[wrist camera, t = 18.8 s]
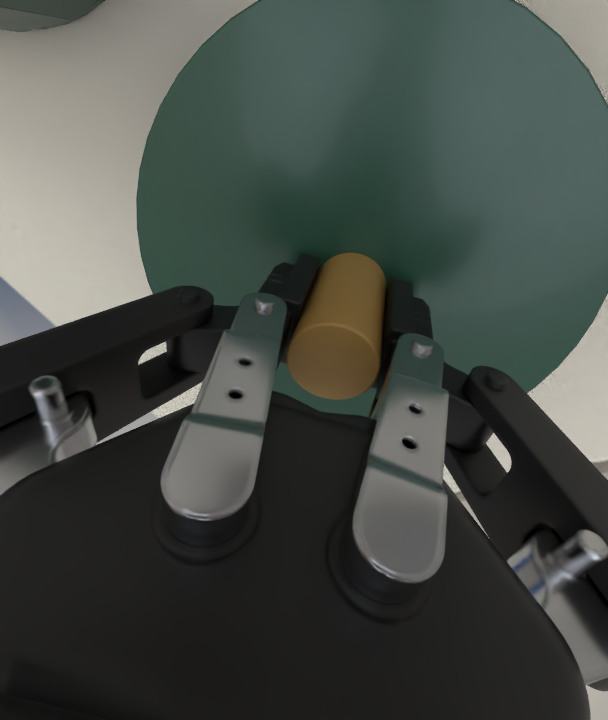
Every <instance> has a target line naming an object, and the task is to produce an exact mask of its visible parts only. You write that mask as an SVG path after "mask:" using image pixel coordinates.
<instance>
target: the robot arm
mask: <svg viewBox="0 0 608 720" xmlns="http://www.w3.org/2000/svg"><path fill="white" fill-rule="evenodd" d="M320 262H321V258H319V257H315V256H312V255H308V254H304V253H301V254H300V256H299V258H298V260H297V261H296V263H295V265H293V264H289V263H285V262H283V263H281V264H279V265H277V266H275V267H274V268H273V270H272V271H271V273H270V274H269V276H268V277H267V280H266V281H265V282H264V284H263V285H262V287H261V288H260V290H259V291H258V293H251V294H248V295H246V296H244V297H243V298H242V300H241V302H240V305H239V306H222V305H214V298H213V295H212V294H211V293H210V292H209V291H207V290H205V289H203V288H200V287H196V286H177V287H173V288H170V289H167V290H164V291H161V292H158V293H155V294H152V295H150V296H147V297H144V298H141V299H138V300H135V301H132V302H129V303H126V304H123V305H120V306H117V307H114V308H111V309H108V310H105V311H102V312H99V313H97V314H94V315H91V316H88V317H85V318H82V319H79V320H76V321H73V322H70V323H67V324H64V325H61V326H58V327H55V328H52V329H49V330H47V331H44V332H41V333H38V334H35V335H32V336H29V337H26V338H23V339H20V340H17V341H14V342H11V343H8V344H5V345H2V346H0V720H590V707H589V700H588V694H587V690H586V687H585V686H586V685H588V686H590V687H592V688H594V689H597V690H600V691H608V480H607V479H606V478H605V477H604V476H603V475H602V474H601V473H600V472H599V470H598V469H597V468H596V467H595V466H594V465H593V464H592V463H591V462H590V461H589V460H588V459H587V458H586V457H585V455H584V454H583V453H582V452H581V451H580V450H579V449H578V448H577V447H576V446H575V445H574V444H573V443H572V442H571V440H570V439H569V438H568V437H567V436H566V435H565V434H564V433H563V432H562V431H561V430H560V429H559V428H558V426H557V425H556V424H555V423H554V422H553V421H552V420H551V419H550V418H549V417H548V416H547V415H546V414H545V413H544V411H543V410H542V409H541V408H540V407H539V406H538V405H537V404H536V403H535V402H534V401H533V400H532V399H531V398H530V396H529V395H528V394H527V393H526V392H525V391H524V390H523V389H522V388H521V387H520V386H519V385H518V384H517V382H516V381H515V380H514V379H512V378H511V377H510V376H509V375H507V374H506V373H504V372H502V371H500V370H498V369H495V368H492V367H489V366H476V367H474V368H473V369H472V370H471V372H470V373H469V375H468V374H466V373H464V372H462V371H460V370H458V369H456V368H454V367H452V366H450V365H449V364H447V363H446V362H444V350H443V349H442V347H441V346H440V345H439V344H438V343H437V342H435V341H434V340H433V332H432V324H431V317H430V316H431V315H430V308H429V306H428V305H427V304H426V302H425V301H424V300H423V299H421V298H417V297H413V282H410V281H406V280H402V279H398V278H395V277H392V278H391V281H390V283H389V286H388V288H387V291H386V299H385V312H384V326H383V339H382V353H381V366H380V372H379V375H378V377H377V379H376V381H375V382H374V384H373V385H372V386H371V387H370V388H374V389H376V394H375V397H374V399H373V401H372V404H371V407H370V410H369V413H368V416H367V417H364V416H361V415H350V414H339V413H327V412H321V411H318V410H316V409H314V408H312V407H310V406H308V405H306V404H304V403H302V402H300V401H298V400H296V399H294V398H292V397H290V396H288V395H286V394H283V393H279V392H276V391H272V389H273V384H274V378H275V373H276V370H277V368H278V367H279V364H280V362H281V363H284V364H287V361H286V351H287V347H288V344H289V342H290V340H291V337H292V335H293V332H294V330H295V328H296V326H297V323H298V321H299V318H300V316H301V314H302V311H303V309H304V306H305V304H306V302H307V299H308V297H309V294H310V292H311V290H312V287H313V285H314V282H315V280H316V278H317V275H318V271H319V267H320ZM165 341H166V344H167V352H165V353H163V354H161V355H159V356H156V357H154V358H152V359H150V360H148V361H146V362H144V363H142V364H139V365H138V361H139V359H140V357H141V355H142V354H143V353H144V352H145V351H146V350H148V349H150V348H152V347H154V346H156V345H159V344H161V343H163V342H165ZM201 382H203V384H202V386H201V389H200V391H199V394H198V396H197V398H196V401H195V403H194V404H192V405H189V406H187V407H185V408H182V409H180V410H178V411H175V412H173V413H171V414H168V415H166V416H164V417H161V418H159V419H157V420H155V421H152V422H150V423H148V424H145V425H143V426H140V427H138V428H136V429H133V430H131V431H129V432H126V433H124V434H121V435H119V436H117V437H114V438H112V439H110V440H108V441H105V442H103V443H101V444H98V445H96V443H97V442H99V441H100V440H102V439H104V438H106V437H107V436H109V435H111V434H112V433H114V432H116V431H118V430H119V429H121V428H123V427H124V426H126V425H128V424H130V423H131V422H133V421H135V420H136V419H138V418H140V417H142V416H143V415H145V414H147V413H149V412H151V411H152V410H154V409H156V408H158V407H159V406H161V405H163V404H164V403H166V402H168V401H170V400H171V399H173V398H175V397H177V396H178V395H180V394H182V393H183V392H185V391H187V390H189V389H190V388H192V387H194V386H196V385H197V384H199V383H201ZM493 433H495V435H496V436H497V437H498V439H499V440H500V441H501V442H502V444H503V445H504V446H505V448H506V449H507V450H508V452H509V454H510V456H511V461H512V465H511V469H510V471H509V472H508V473H507V472H506V471H505V469H504V468H503V467H502V465H501V464H500V462H499V461H498V460H497V458H496V457H495V456H494V454H493V453H492V451H491V450H490V449H489V447H488V446H487V445H486V442H487V441H488V439H489V438H490V437H491V435H492V434H493ZM444 464H445V465H446V467H447V469H448V470H449V472H450V474H451V475H452V477H453V479H454V480H455V482H456V484H457V485H458V487H459V489H460V490H461V492H462V494H463V495H464V497H465V499H466V500H467V502H468V504H469V505H470V507H471V509H472V510H473V512H474V513H475V515H476V517H477V519H478V520H479V522H480V523H481V525H482V527H483V528H484V530H485V532H486V534H487V535H488V537H489V538H488V537H487V535H486V534H485V533H484V531H483V530H482V529H481V528H480V526H479V525H478V524H477V522H476V521H475V520H474V519H473V517H472V516H471V515H470V513H469V512H468V511H467V509H466V508H465V507H464V506H463V504H462V503H461V502H460V500H459V499H458V498H457V496H456V495H455V494H454V492H453V491H452V490H451V489H450V487H449V486H448V485H447V483H446V482H445V481H444V479H443V469H444Z"/></svg>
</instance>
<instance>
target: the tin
mask: <svg viewBox="0 0 608 720" xmlns="http://www.w3.org/2000/svg"><path fill="white" fill-rule="evenodd" d="M103 1H104V0H0V29H1V30H9V31H17V32H25V31H29V30H34V29H47V28H51V27H56V26H60V25H64V24H67V23H69V22H71V21H73V20H76V19H77V18H79V17H82V16H84V15H86V14H88V13H89V12H90V11H91V10H93V9H94V8H95V7H96V6H98V5H99V4H100V3H102V2H103Z"/></svg>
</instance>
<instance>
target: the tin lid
mask: <svg viewBox="0 0 608 720" xmlns="http://www.w3.org/2000/svg"><path fill="white" fill-rule="evenodd" d="M136 200H137V231H138V238H139V245H140V252H141V257H142V261H143V265H144V268H145V272H146V276H147V280H148V283H149V285H150V288H151V290H152V293H153V294H155V293H158V292H161V291H164V290H167V289H170V288H173V287H177V286H196V287H200V288H203V289H205V290H207V291H209V292H210V293H211V294H212V295H213V298H214V305H222V306H239V305H240V302H241V300H242V298H243V297H244V296H246V295H248V294H251V293H258V291H259V290H260V288H261V287H262V285H263V284H264V282H265V281H266V280H267V277H268V276H269V274H270V273H271V271H272V270H273V268H274V267H275V266H277V265H279V264H281V263H283V262H285V263H289V264H293V265H295V263H296V261H297V260H298V258H299V256H300V254H301V253H304V254H308V255H312V256H315V257H319V258H321V262H320V267H319V271H318V275H317V278H316V280H315V282H314V285H313V287H312V290H311V292H310V294H309V297H308V299H307V302H306V304H305V306H304V309H303V311H302V314H301V316H300V318H299V321H298V323H297V326H296V328H295V330H294V332H293V335H292V337H291V340H290V342H289V344H288V347H287V351H286V361H287V364H284V363H281V362H280V364H279V367H278V368H277V370H276V373H275V378H274V384H273V389H272V391H276V392H279V393H283V394H286V395H288V396H290V397H292V398H294V399H296V400H298V401H300V402H302V403H304V404H306V405H308V406H310V407H312V408H314V409H316V410H318V411H321V412H327V413H339V414H350V415H361V416H364V417H367V416H368V413H369V410H370V407H371V404H372V401H373V399H374V397H375V394H376V389H374V388H370V387H371V386H372V385H373V384H374V382H375V381H376V379H377V377H378V375H379V372H380V366H381V353H382V339H383V326H384V312H385V299H386V291H387V288H388V286H389V283H390V281H391V278H392V277H395V278H398V279H402V280H406V281H410V282H413V297H417V298H421V299H423V300H424V301H425V302H426V304H427V305H428V306H429V308H430V315H431V316H430V317H431V324H432V332H433V340H434V341H435V342H437V343H438V344H439V345H440V346H441V347H442V349H443V350H444V362H446V363H447V364H449V365H450V366H452V367H454V368H456V369H458V370H460V371H462V372H464V373H466V374H468V375H469V373H470V372H471V370H472V369H473V368H474V367H476V366H489V367H492V368H495V369H498V370H500V371H502V372H504V373H506V374H507V375H509V376H510V377H511V378H512V379H514V380H515V381H516V382H517V384H518V385H519V386H520V387H521V388H522V389H523V390H524V391H525V392H526V393H528V392H529V391H531V390H532V389H533V388H535V387H536V386H537V385H538V384H539V383H541V382H542V381H543V380H544V379H545V378H546V377H547V376H548V375H549V374H551V373H552V372H553V371H554V370H555V369H556V368H557V367H558V366H559V365H560V364H561V363H562V362H563V360H564V359H565V358H566V357H567V356H568V355H569V354H570V352H571V351H572V350H573V349H574V348H575V347H576V346H577V344H578V343H579V341H580V340H581V338H582V337H583V335H584V334H585V333H586V331H587V330H588V328H589V327H590V325H591V324H592V322H593V321H594V319H595V317H596V315H597V313H598V311H599V309H600V307H601V305H602V303H603V301H604V299H605V297H606V295H607V293H608V104H607V102H606V101H605V99H604V97H603V95H602V93H601V91H600V90H599V88H598V86H597V84H596V82H595V80H594V79H593V77H592V75H591V73H590V71H589V70H588V68H587V67H586V66H585V65H584V63H583V62H582V61H581V60H580V59H579V57H578V56H577V55H576V54H575V52H574V51H573V50H572V49H571V48H570V46H569V45H568V44H567V43H566V41H565V40H564V39H563V38H562V37H561V36H560V35H559V34H558V33H557V32H556V31H554V30H553V29H552V28H551V27H550V26H548V25H547V24H546V23H545V22H544V21H542V20H541V19H540V18H539V17H538V16H537V15H535V14H534V13H533V12H532V11H531V10H529V9H528V8H527V7H525V6H523V5H522V4H520V3H518V2H516V1H514V0H258V1H257V2H255V3H254V4H252V5H251V6H249V7H248V8H246V9H244V10H243V11H241V12H240V13H238V14H237V15H235V16H234V17H232V18H231V19H230V20H229V21H228V22H226V23H225V24H224V25H223V26H222V27H221V28H220V29H219V30H218V31H217V32H215V33H214V34H213V35H212V36H211V37H210V38H209V39H208V40H207V41H206V42H205V43H203V44H202V45H201V47H200V48H199V49H198V50H197V52H196V53H195V54H194V55H193V57H192V58H191V59H190V60H189V62H188V63H187V64H186V65H185V67H184V68H183V69H182V70H181V72H180V73H179V74H178V76H177V77H176V79H175V81H174V83H173V84H172V86H171V88H170V90H169V91H168V93H167V95H166V96H165V98H164V100H163V102H162V103H161V105H160V107H159V110H158V112H157V115H156V117H155V120H154V122H153V125H152V127H151V130H150V132H149V135H148V137H147V141H146V146H145V150H144V154H143V158H142V162H141V166H140V171H139V181H138V190H137V199H136Z"/></svg>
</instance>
